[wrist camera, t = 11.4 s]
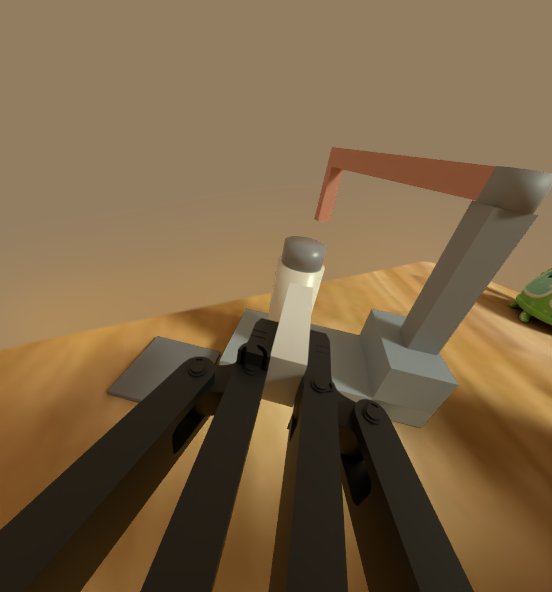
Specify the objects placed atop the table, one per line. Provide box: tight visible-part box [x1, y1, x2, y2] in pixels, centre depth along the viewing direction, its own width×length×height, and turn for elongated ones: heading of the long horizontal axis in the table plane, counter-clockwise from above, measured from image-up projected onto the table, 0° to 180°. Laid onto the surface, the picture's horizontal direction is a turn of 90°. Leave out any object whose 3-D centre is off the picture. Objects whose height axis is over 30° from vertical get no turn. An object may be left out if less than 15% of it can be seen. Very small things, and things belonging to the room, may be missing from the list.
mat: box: [107, 336, 220, 403], centre depth 25 cm, size 8×8×1 cm
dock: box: [220, 201, 538, 428], centre depth 24 cm, size 22×10×21 cm, turn 80°
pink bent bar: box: [315, 147, 552, 222], centre depth 28 cm, size 26×4×10 cm, turn 21°
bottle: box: [268, 236, 327, 322], centre depth 26 cm, size 5×5×15 cm
